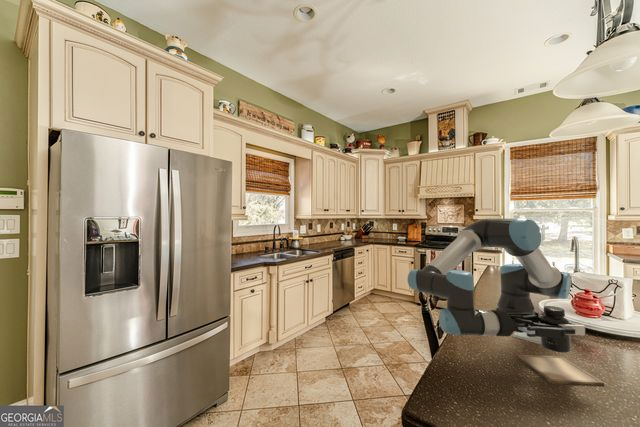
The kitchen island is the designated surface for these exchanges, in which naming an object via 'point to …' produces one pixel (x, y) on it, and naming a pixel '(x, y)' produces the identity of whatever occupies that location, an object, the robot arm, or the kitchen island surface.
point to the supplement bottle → (555, 318)
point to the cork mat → (559, 370)
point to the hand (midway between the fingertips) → (572, 325)
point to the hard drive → (527, 337)
